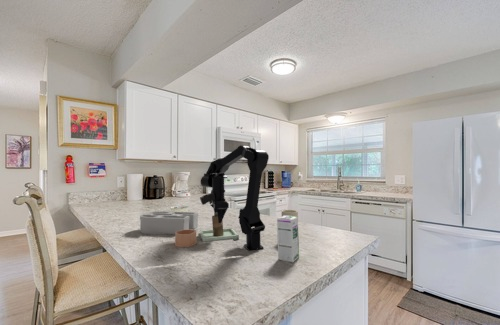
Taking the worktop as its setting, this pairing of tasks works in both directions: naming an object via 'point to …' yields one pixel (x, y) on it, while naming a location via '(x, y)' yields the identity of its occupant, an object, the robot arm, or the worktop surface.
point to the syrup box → (288, 238)
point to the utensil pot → (185, 238)
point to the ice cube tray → (167, 222)
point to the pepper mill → (217, 226)
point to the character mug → (290, 213)
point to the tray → (228, 234)
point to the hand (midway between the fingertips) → (218, 221)
